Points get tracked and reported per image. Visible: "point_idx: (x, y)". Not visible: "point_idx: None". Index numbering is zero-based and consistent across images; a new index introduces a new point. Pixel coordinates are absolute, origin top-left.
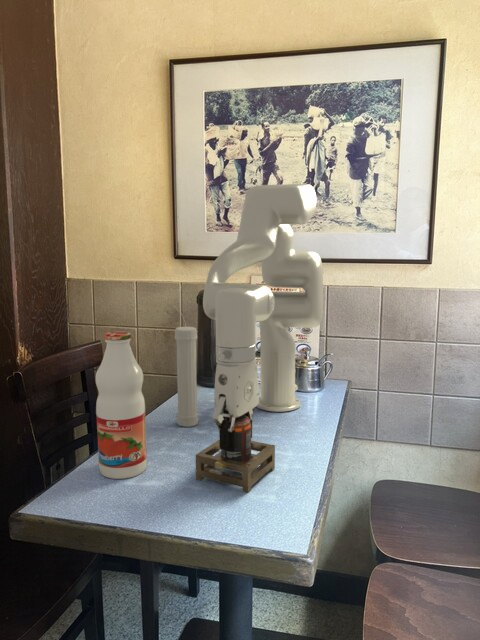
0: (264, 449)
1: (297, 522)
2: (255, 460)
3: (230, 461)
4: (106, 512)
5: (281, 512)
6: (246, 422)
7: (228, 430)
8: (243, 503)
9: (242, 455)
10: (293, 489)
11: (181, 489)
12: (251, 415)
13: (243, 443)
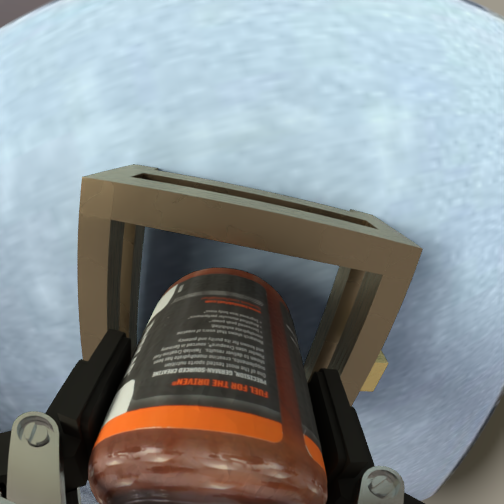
0: (159, 220)
1: (483, 44)
2: (337, 231)
3: (368, 345)
4: (451, 443)
5: (458, 84)
6: (244, 472)
7: (394, 484)
8: (437, 213)
9: (281, 317)
10: (297, 48)
11: (369, 399)
12: (32, 435)
13: (281, 357)
